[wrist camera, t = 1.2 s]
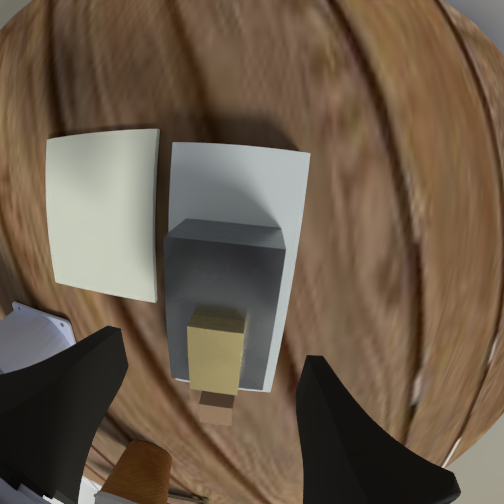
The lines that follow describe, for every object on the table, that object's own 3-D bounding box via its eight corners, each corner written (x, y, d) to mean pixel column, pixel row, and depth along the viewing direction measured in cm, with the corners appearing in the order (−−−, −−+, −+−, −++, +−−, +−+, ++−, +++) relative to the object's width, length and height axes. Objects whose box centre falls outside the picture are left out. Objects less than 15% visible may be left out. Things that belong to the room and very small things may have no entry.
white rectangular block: (184, 355, 21) (162, 414, 15) (188, 144, 16) (144, 137, 10) (270, 365, 21) (270, 429, 15) (302, 154, 16) (325, 150, 9)
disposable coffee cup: (106, 431, 27) (76, 495, 16) (158, 434, 26) (132, 514, 14) (144, 464, 30) (124, 522, 19) (195, 468, 28) (181, 536, 17)
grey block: (186, 341, 17) (166, 389, 13) (186, 218, 14) (154, 243, 10) (263, 350, 17) (261, 403, 12) (281, 228, 14) (287, 258, 10)
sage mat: (59, 279, 19) (55, 282, 19) (51, 139, 16) (47, 139, 15) (157, 299, 19) (155, 302, 19) (160, 129, 15) (157, 128, 15)
